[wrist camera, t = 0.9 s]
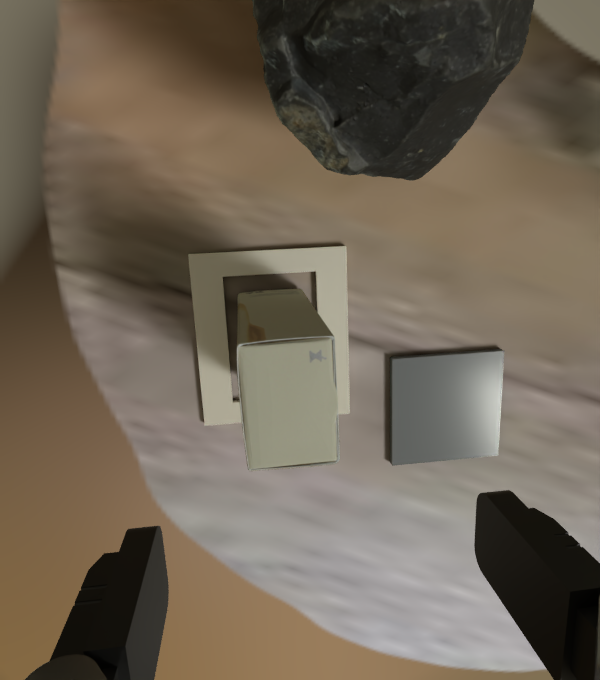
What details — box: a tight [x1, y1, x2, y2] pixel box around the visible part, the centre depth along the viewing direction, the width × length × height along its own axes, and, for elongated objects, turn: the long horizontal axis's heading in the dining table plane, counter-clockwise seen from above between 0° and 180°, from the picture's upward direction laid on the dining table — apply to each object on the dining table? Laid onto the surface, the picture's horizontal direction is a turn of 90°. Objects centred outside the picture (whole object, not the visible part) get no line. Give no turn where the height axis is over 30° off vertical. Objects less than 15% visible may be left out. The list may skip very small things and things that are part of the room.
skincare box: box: [236, 289, 340, 471], centre depth 28 cm, size 6×4×12 cm
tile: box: [390, 349, 504, 466], centre depth 36 cm, size 8×8×1 cm
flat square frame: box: [188, 246, 350, 426], centre depth 33 cm, size 10×12×1 cm
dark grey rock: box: [252, 0, 534, 180], centre depth 21 cm, size 14×15×18 cm
